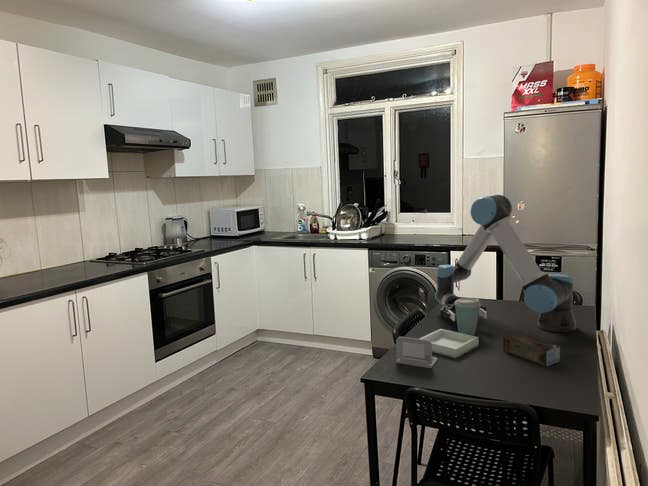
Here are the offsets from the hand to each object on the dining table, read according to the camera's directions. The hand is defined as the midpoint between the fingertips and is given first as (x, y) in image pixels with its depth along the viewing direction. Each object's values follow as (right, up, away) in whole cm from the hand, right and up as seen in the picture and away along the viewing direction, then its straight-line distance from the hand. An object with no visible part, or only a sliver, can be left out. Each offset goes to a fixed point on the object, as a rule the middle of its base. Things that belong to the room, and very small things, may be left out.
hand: (470, 316), depth 204 cm
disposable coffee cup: (0, -8, +4) cm, 9 cm away
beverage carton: (+16, -12, -22) cm, 30 cm away
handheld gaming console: (-26, -13, -23) cm, 37 cm away
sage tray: (-12, -10, -10) cm, 19 cm away
